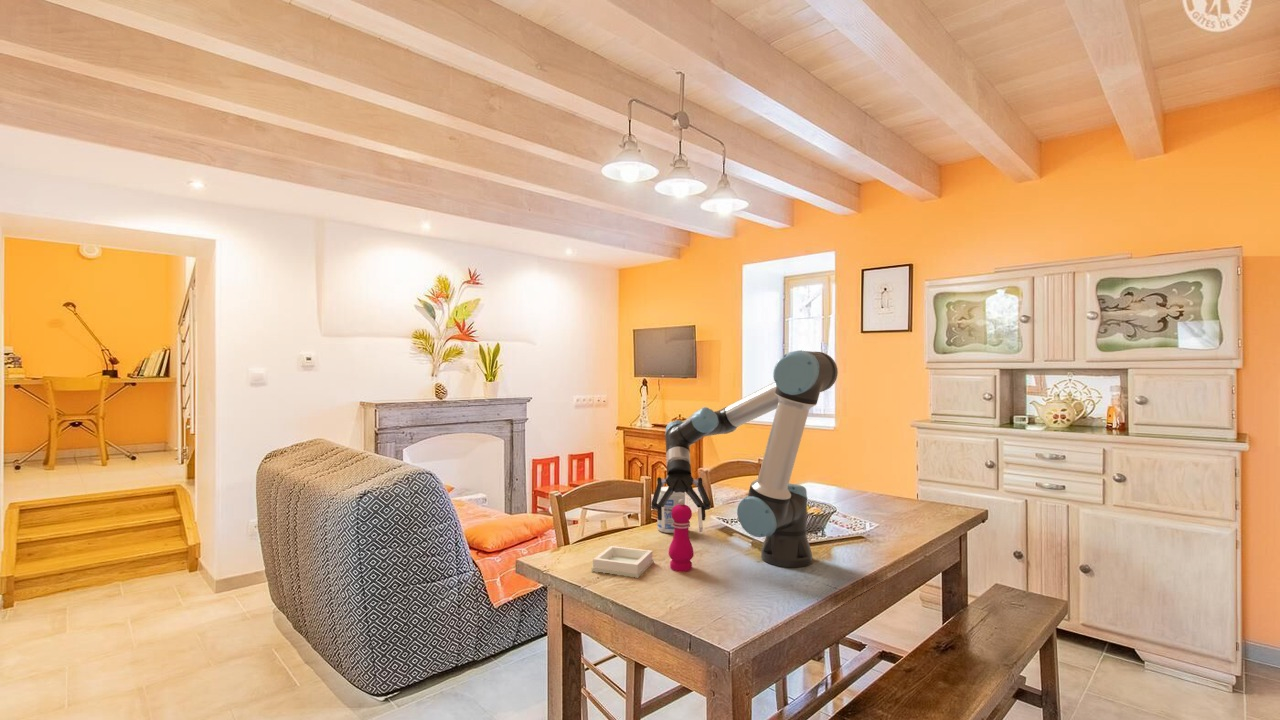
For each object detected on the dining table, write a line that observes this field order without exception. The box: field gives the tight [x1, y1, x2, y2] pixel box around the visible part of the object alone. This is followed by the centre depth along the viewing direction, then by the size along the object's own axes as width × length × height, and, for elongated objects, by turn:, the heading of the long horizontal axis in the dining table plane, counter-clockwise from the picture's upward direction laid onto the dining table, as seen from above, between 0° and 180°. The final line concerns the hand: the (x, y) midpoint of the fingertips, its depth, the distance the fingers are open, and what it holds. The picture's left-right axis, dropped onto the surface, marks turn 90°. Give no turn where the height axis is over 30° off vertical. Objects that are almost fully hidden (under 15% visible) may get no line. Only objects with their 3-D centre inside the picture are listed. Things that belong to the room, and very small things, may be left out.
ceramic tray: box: [591, 545, 655, 579], centre depth 176 cm, size 14×14×4 cm
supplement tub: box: [656, 486, 686, 534], centre depth 215 cm, size 10×10×15 cm
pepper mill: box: [668, 499, 694, 573], centre depth 175 cm, size 7×7×20 cm
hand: (682, 529), depth 172 cm, fingers open, 10 cm apart
